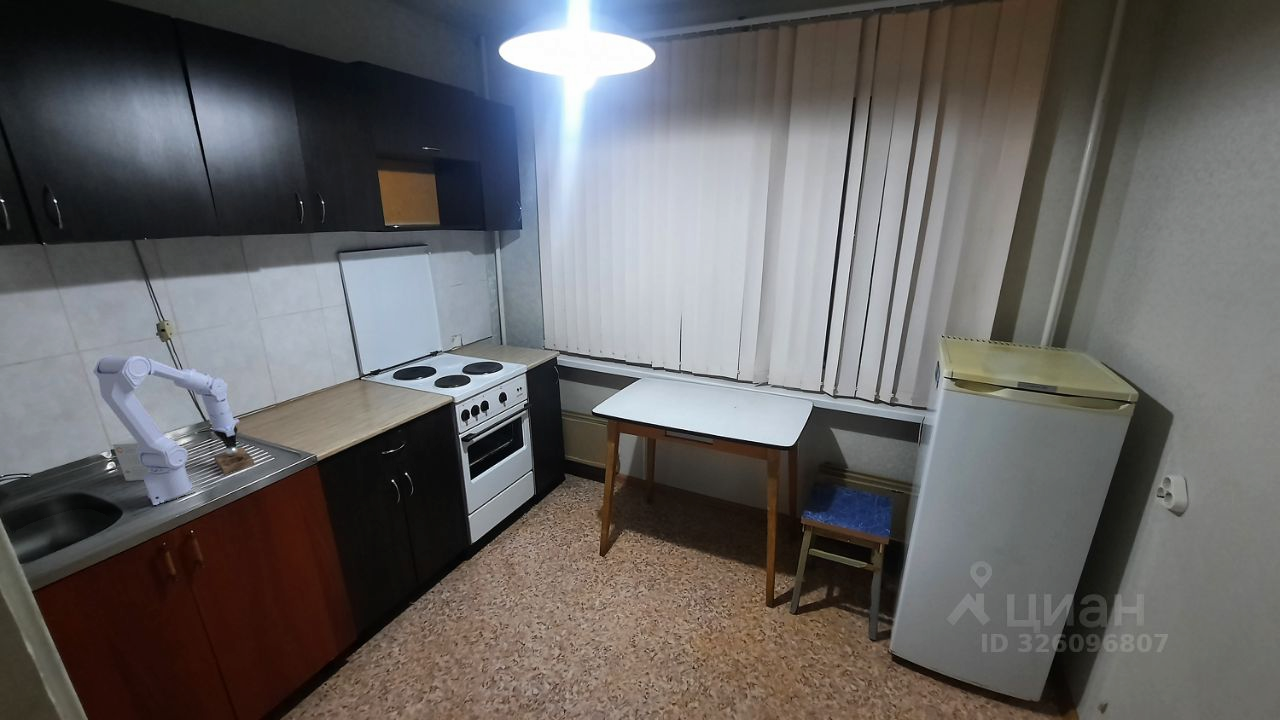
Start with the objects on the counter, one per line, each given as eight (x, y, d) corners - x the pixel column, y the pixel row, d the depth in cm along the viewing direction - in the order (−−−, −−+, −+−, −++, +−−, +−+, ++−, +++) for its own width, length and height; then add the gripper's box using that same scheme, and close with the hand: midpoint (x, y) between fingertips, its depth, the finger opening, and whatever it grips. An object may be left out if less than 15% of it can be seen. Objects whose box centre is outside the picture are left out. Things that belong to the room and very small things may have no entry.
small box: (169, 469, 164) (156, 433, 160) (152, 480, 158) (139, 443, 154) (142, 471, 163) (129, 435, 159) (125, 481, 157) (111, 444, 153)
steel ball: (225, 458, 166) (228, 455, 164) (223, 450, 166) (225, 446, 165) (237, 456, 168) (240, 452, 167) (235, 447, 169) (237, 444, 167)
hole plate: (224, 475, 160) (222, 468, 159) (215, 462, 168) (213, 456, 167) (254, 465, 165) (253, 458, 165) (244, 453, 173) (242, 447, 173)
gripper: (240, 413, 161) (252, 450, 166) (228, 402, 170) (240, 437, 175) (213, 421, 156) (226, 459, 161) (202, 409, 165) (215, 445, 170)
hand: (232, 448), depth 167 cm, fingers closed, pressing on steel ball
